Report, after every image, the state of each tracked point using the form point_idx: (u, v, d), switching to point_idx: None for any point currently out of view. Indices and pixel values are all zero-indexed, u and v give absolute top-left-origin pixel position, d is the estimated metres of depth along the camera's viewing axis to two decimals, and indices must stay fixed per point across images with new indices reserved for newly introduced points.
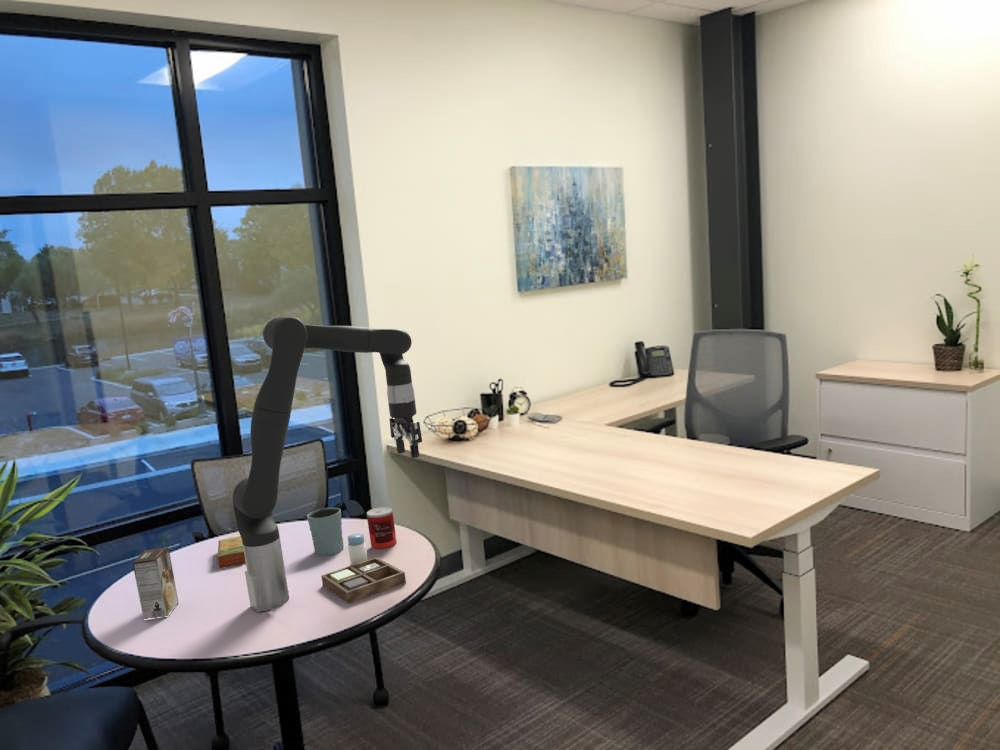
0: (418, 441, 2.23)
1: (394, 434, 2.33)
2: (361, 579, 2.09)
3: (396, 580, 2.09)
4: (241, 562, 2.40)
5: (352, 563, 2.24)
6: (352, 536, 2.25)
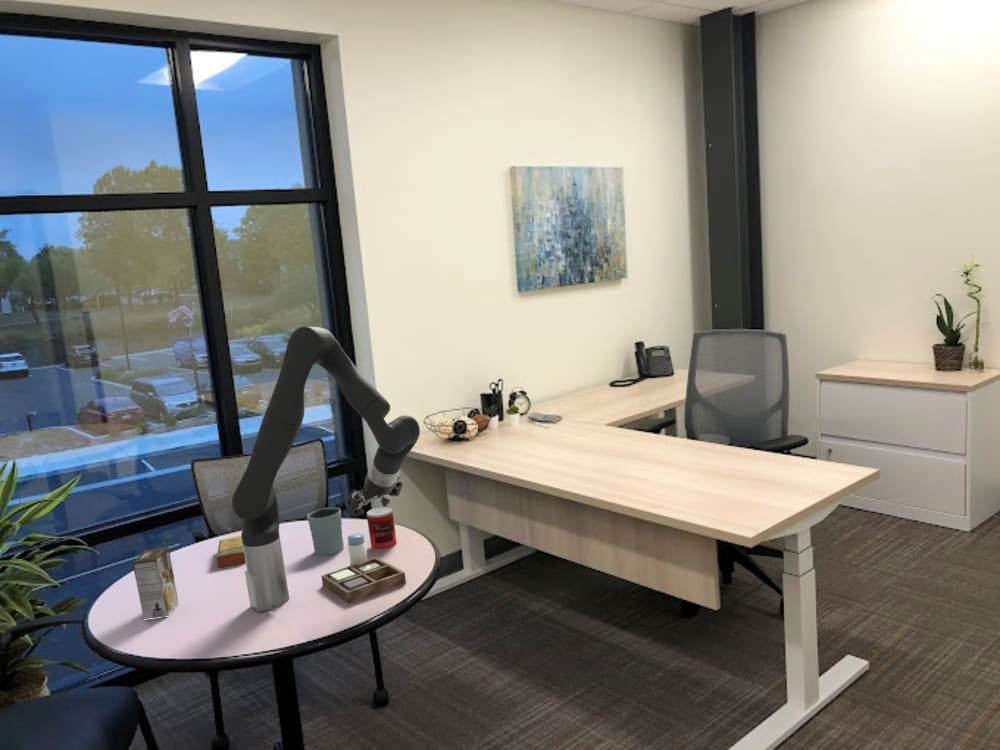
0: (349, 505, 2.07)
1: (392, 489, 2.14)
2: (361, 579, 2.09)
3: (396, 580, 2.09)
4: (240, 562, 2.40)
5: (352, 563, 2.24)
6: (352, 536, 2.25)
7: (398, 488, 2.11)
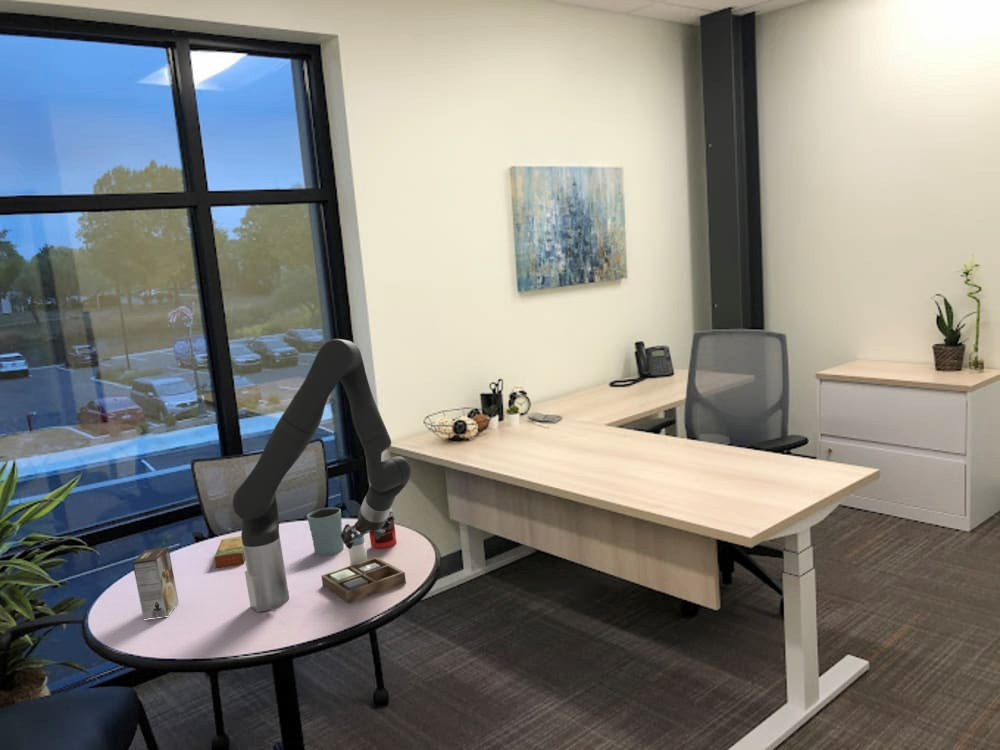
0: (342, 539, 2.14)
1: (384, 522, 2.22)
2: (361, 579, 2.09)
3: (396, 580, 2.09)
4: (237, 563, 2.40)
5: (352, 563, 2.24)
6: (352, 536, 2.25)
7: (390, 522, 2.19)
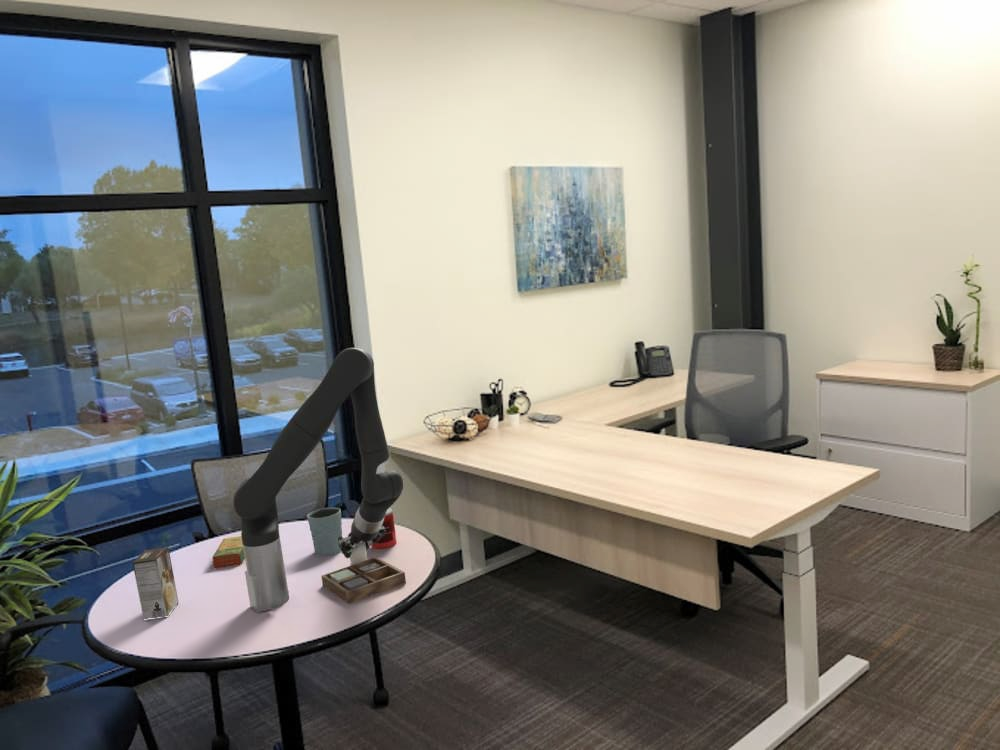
0: (341, 549, 2.21)
1: None
2: (361, 579, 2.09)
3: (396, 580, 2.09)
4: (235, 564, 2.40)
5: (352, 563, 2.24)
6: None
7: (381, 535, 2.24)
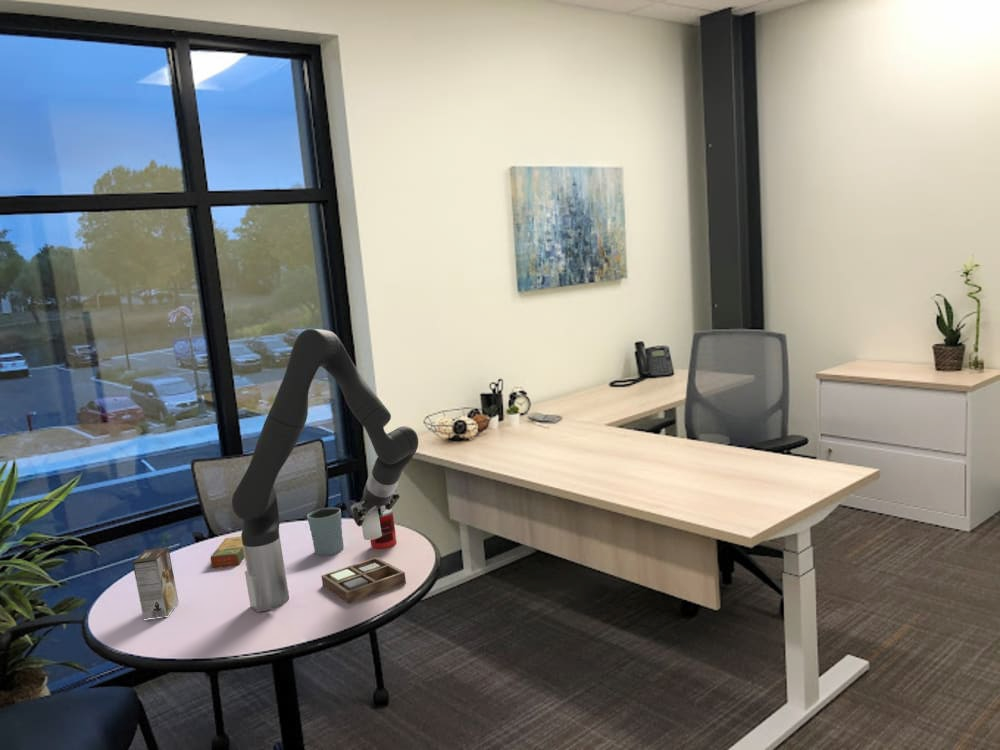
0: (352, 516, 2.09)
1: None
2: (361, 579, 2.09)
3: (396, 580, 2.09)
4: (233, 564, 2.40)
5: (364, 531, 2.12)
6: None
7: (394, 500, 2.12)
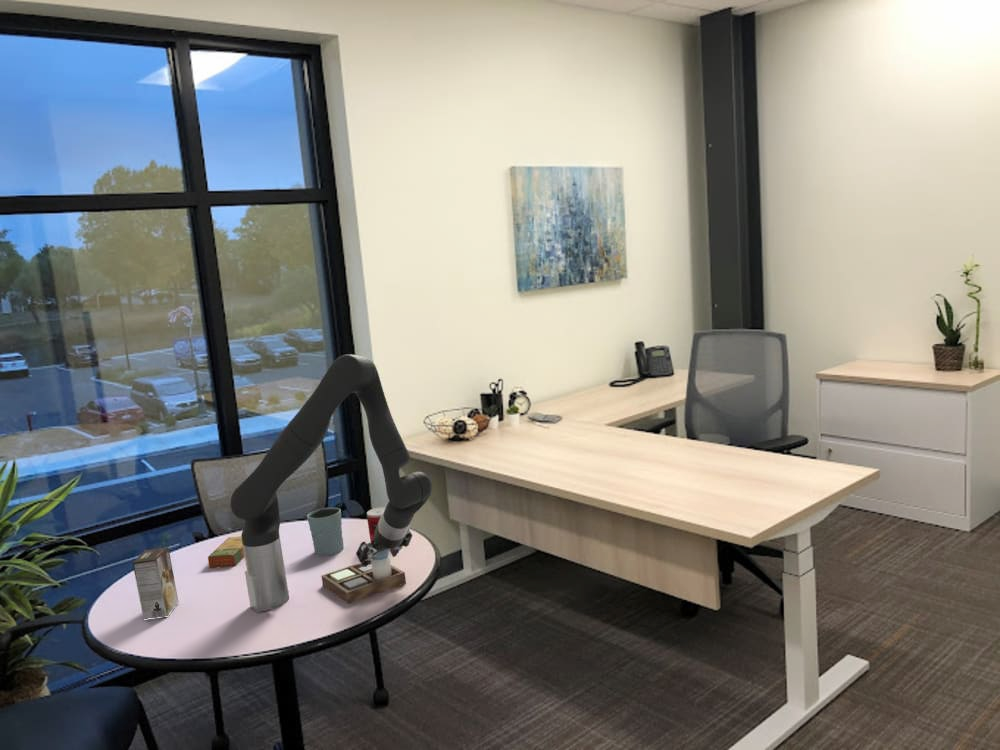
0: (358, 557, 2.05)
1: None
2: (361, 579, 2.09)
3: (396, 580, 2.09)
4: (229, 565, 2.39)
5: (375, 578, 2.10)
6: (375, 550, 2.10)
7: (408, 539, 2.09)
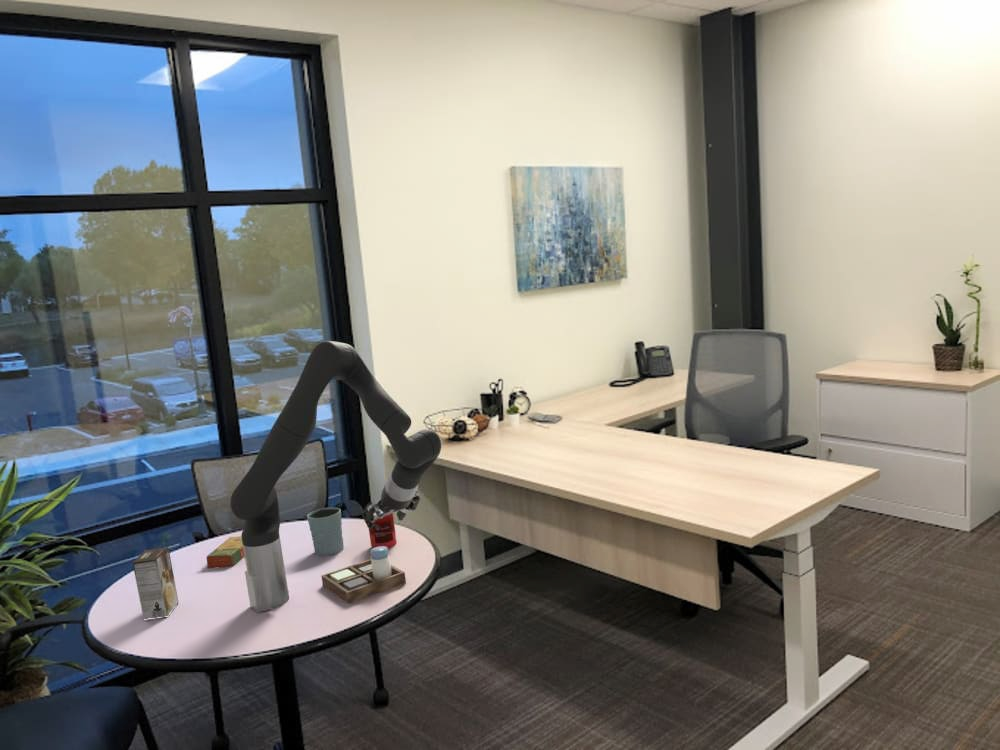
0: (364, 518, 2.00)
1: (409, 502, 2.07)
2: (361, 579, 2.09)
3: (396, 580, 2.09)
4: (227, 565, 2.39)
5: (375, 578, 2.10)
6: (375, 550, 2.10)
7: (415, 502, 2.04)
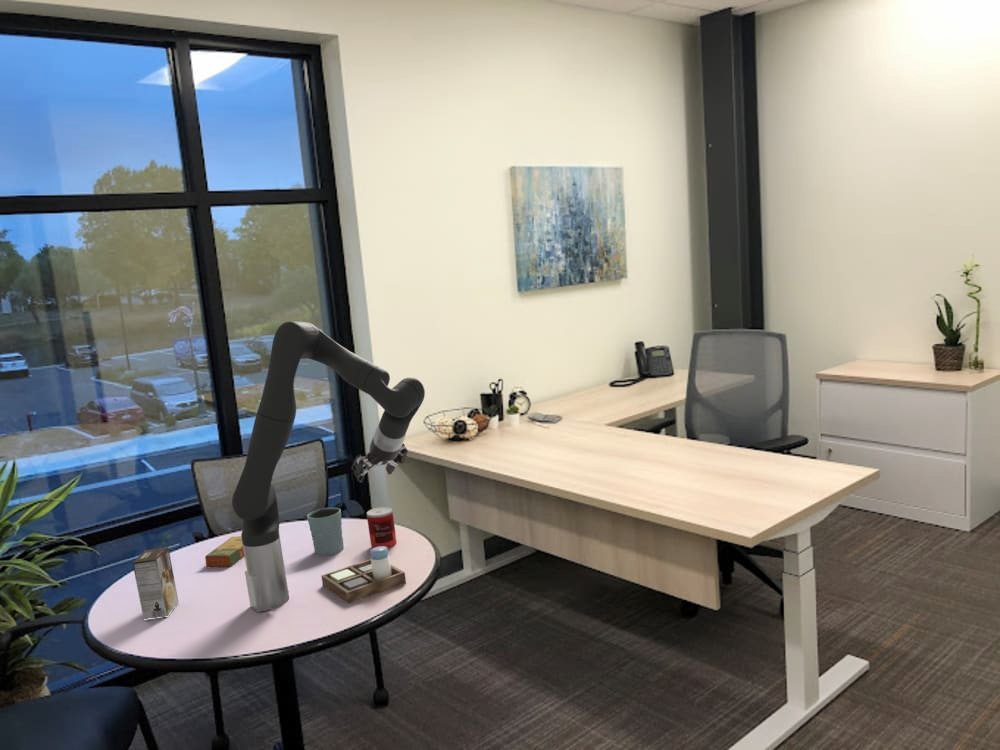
0: (353, 471, 2.05)
1: (397, 456, 2.12)
2: (361, 579, 2.09)
3: (396, 580, 2.09)
4: (225, 565, 2.39)
5: (375, 578, 2.10)
6: (375, 550, 2.10)
7: (403, 455, 2.10)
